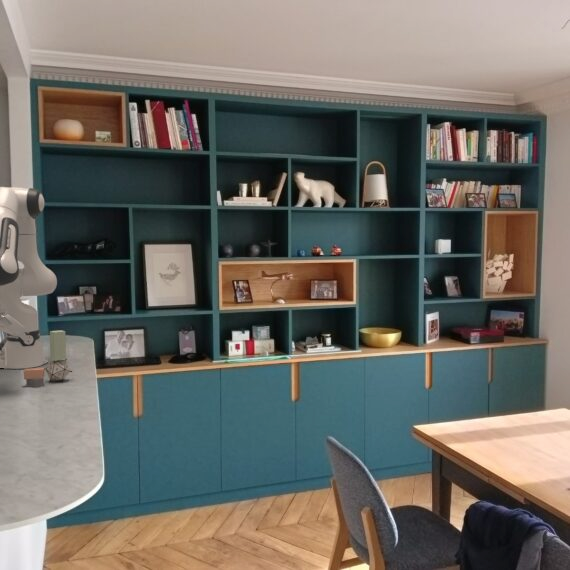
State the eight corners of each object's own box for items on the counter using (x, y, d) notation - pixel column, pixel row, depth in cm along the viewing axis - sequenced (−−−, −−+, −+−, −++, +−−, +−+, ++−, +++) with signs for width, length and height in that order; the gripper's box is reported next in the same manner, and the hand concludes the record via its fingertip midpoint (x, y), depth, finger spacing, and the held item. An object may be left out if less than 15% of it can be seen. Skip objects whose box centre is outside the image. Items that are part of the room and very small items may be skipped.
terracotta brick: (24, 379, 196) (23, 370, 196) (26, 377, 199) (25, 368, 199) (42, 378, 197) (42, 369, 197) (44, 376, 200) (44, 367, 200)
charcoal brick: (26, 385, 199) (26, 377, 199) (34, 384, 201) (34, 375, 201) (35, 388, 195) (35, 379, 195) (43, 386, 198) (43, 378, 197)
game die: (63, 390, 207) (81, 367, 209) (52, 387, 199) (70, 363, 201) (45, 376, 209) (63, 353, 211) (33, 373, 201) (51, 349, 203)
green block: (50, 359, 204) (49, 331, 204) (61, 357, 207) (61, 330, 207) (54, 360, 202) (54, 332, 201) (66, 359, 204) (65, 331, 204)
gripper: (8, 307, 182) (40, 334, 189) (-11, 302, 197) (19, 328, 204) (-7, 322, 179) (26, 349, 187) (-25, 316, 194) (6, 342, 202)
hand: (22, 338), depth 196 cm, fingers open, 8 cm apart
